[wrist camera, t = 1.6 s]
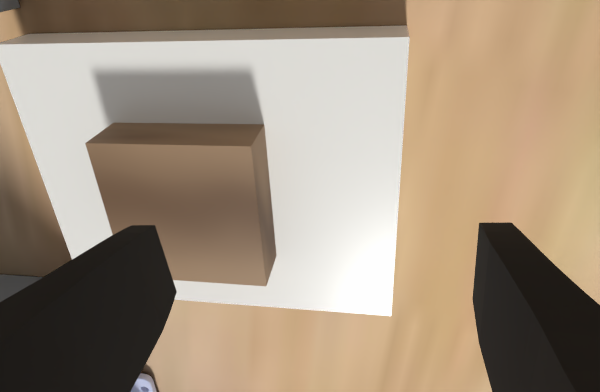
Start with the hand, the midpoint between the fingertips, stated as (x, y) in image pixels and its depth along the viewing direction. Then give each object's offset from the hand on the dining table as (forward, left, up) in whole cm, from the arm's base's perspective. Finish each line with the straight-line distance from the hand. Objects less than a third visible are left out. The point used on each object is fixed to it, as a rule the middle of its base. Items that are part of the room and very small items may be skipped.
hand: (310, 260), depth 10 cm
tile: (-3, +6, -8) cm, 10 cm away
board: (-3, +5, -10) cm, 11 cm away
